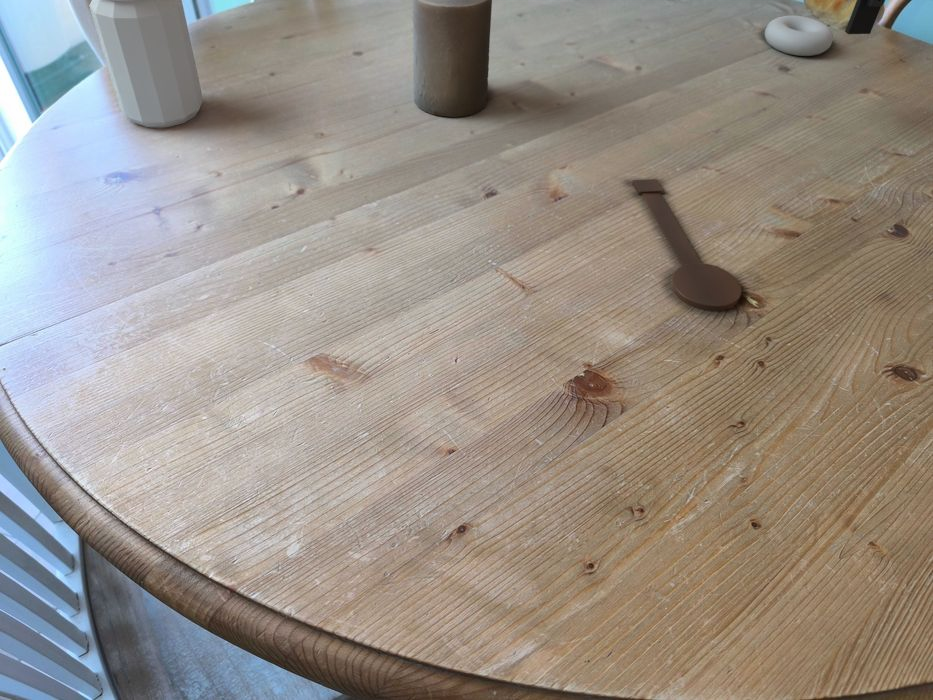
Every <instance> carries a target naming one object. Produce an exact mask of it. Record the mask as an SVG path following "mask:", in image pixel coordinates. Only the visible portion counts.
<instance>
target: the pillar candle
mask: <svg viewBox="0 0 933 700" xmlns="http://www.w3.org/2000/svg"><path fill="white" fill-rule="evenodd" d="M492 7H493V0H412V51H413V52H412V54H413V57H412V61H413V62H412V64H413V98H414V103H415V105H416V106H417V107H418V108H419V109H420V110H421V111H424V112H426V113H428V114H431V115H435V116H443V117H450V118H451V117H452V118H459V117H460V118H461V117H466V116H471V115H474V114H476V113H479V112H481V111H482V110H483V109H485V107H486V106H487V101H488V87H489V69H490V67H489V64H490V45H491V44H490V43H491V28H492V27H491V26H492V25H491V24H492Z"/></svg>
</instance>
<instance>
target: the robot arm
mask: <svg viewBox="0 0 933 700" xmlns="http://www.w3.org/2000/svg"><path fill="white" fill-rule="evenodd" d="M885 2H886V0H857V1H856V4H855V7H854V9H853V12H852V15H851V17H850V20H849V22H848V25H847V28H846V30H845V31H844V33H846V34H847V35H870V34H871V33H872V30H873V27H874V26H875V25H874V23H875V20H876V18H877V15H878V13H879V10H880V8H881V7H882V5H883V4H884V5H885Z"/></svg>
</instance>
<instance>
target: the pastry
mask: <svg viewBox="0 0 933 700" xmlns="http://www.w3.org/2000/svg"><path fill="white" fill-rule="evenodd" d="M856 1H857V0H803V6H804V7H805V10H806V11H807V13H809V14H811V15H812V17H814V18H815V19H817V20H818V21H820V22H822V23H824V24H825V25H827V24H828V25H829V26H830V28H832V29H834V30H836V31H842V32H845V30H846V28H847V25H848V22H849V20H850V17H851V15H852V12H853V9H854V7H855V4H856ZM885 11H886V9H885V3H884V4H883V5H882V7H881V8H880V10H879V13H878V15H877V18H876V20H875V23H874V25H873V26H875V25H877V24H878V23H880V22H881V20H882V19H883V18H884V14H885Z"/></svg>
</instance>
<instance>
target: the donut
mask: <svg viewBox="0 0 933 700" xmlns="http://www.w3.org/2000/svg"><path fill="white" fill-rule="evenodd" d="M764 37H765V40H766V42H767V44H768V45H769V46H770V47H772V48H773V49H774V50H777V51H779V52H781V53H785V54H788V55H792V56H798V57H799V56H800V57H812V56H817V55H821V54H822V53H824V52H827V50H828V49H830V47H831V45H832V44H833V40H834V33H833V31H832V30H831V27H829V26H828V25H827V24H825V23H823V22H821V21H820V20H818V19H816V18H811V17H807V16H802V15H783V16H778V17H776V18H774V19H772V20H771V21H769V22H768V24H767V26H766V28H765V30H764Z"/></svg>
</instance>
